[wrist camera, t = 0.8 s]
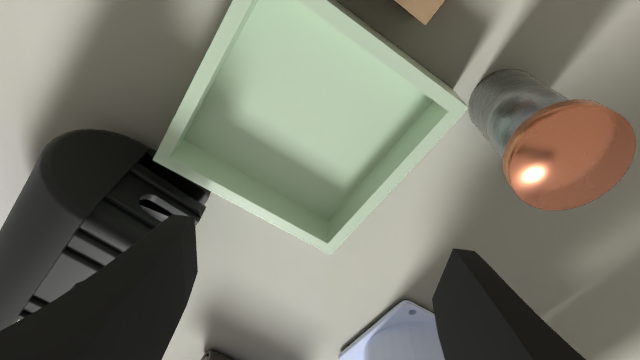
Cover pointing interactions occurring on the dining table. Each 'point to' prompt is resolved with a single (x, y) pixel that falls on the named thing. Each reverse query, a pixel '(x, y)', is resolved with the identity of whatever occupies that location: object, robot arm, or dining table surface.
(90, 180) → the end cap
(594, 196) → the grey brown cylinder
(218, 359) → the portable electronic device stand
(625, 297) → the dining table surface
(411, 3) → the pulley block
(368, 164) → the tray
